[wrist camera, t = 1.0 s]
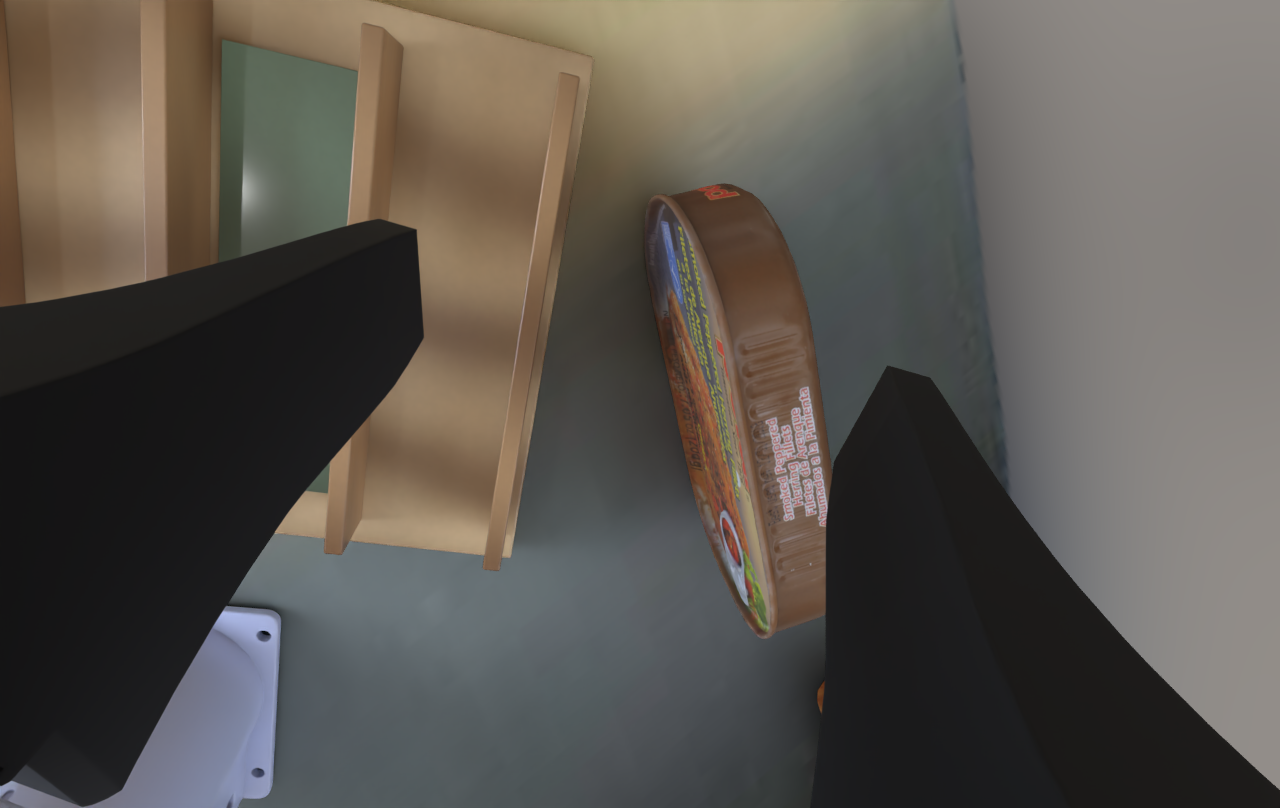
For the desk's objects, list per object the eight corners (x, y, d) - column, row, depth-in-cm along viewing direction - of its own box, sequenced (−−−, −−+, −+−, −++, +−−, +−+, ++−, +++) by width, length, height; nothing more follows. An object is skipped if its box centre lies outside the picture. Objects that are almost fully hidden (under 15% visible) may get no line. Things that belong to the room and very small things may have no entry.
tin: (628, 194, 23) (672, 201, 15) (715, 174, 23) (803, 170, 15) (705, 554, 28) (767, 701, 20) (775, 535, 28) (864, 673, 20)
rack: (512, 543, 27) (506, 597, 23) (34, 490, 23) (-56, 544, 20) (592, 63, 21) (601, 40, 18) (-9, -91, 18) (-141, -155, 15)
